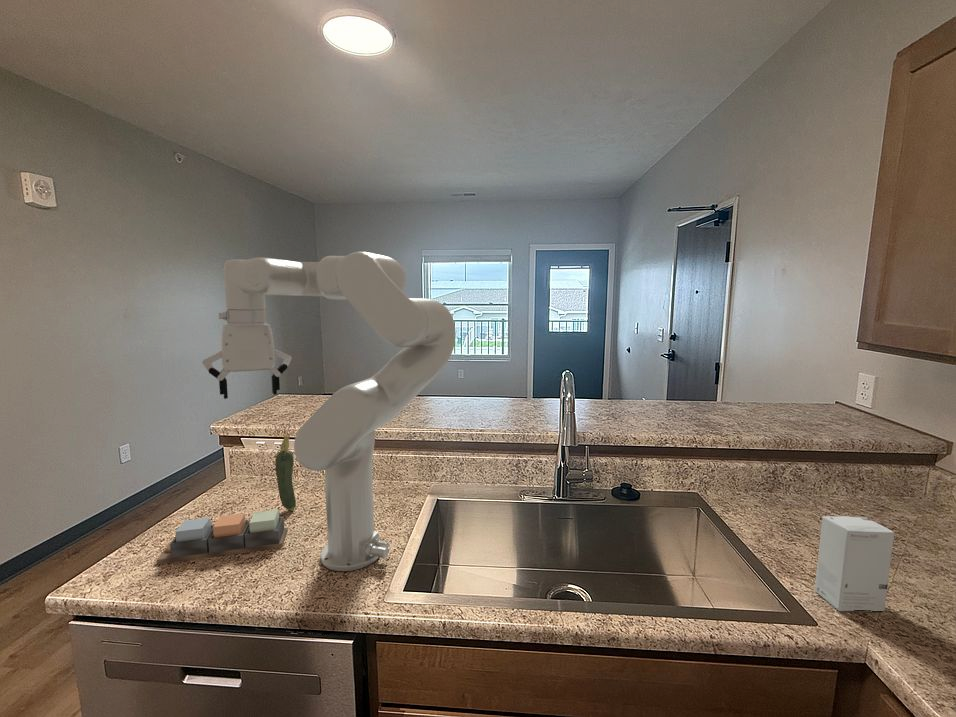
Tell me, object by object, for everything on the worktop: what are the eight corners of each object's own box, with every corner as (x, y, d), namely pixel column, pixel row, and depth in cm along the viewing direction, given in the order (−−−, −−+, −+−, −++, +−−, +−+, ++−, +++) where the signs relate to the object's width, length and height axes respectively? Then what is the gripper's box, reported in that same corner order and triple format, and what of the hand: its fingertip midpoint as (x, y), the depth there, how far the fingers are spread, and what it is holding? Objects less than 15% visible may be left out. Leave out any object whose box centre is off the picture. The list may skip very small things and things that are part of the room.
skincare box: (838, 612, 75) (847, 531, 73) (812, 590, 81) (819, 514, 79) (887, 613, 75) (897, 531, 73) (857, 590, 81) (866, 514, 79)
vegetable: (283, 516, 110) (279, 439, 107) (274, 511, 112) (270, 436, 110) (300, 509, 113) (295, 435, 111) (291, 505, 116) (286, 432, 113)
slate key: (211, 534, 97) (210, 517, 96) (203, 546, 92) (202, 528, 92) (186, 537, 96) (184, 520, 95) (177, 549, 91) (175, 531, 90)
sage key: (279, 525, 100) (278, 509, 100) (275, 536, 96) (274, 519, 95) (255, 528, 99) (254, 512, 99) (250, 540, 94) (249, 522, 94)
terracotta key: (246, 529, 99) (245, 513, 98) (240, 541, 94) (239, 524, 93) (221, 533, 97) (220, 516, 97) (214, 544, 93) (212, 527, 92)
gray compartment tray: (287, 531, 102) (286, 515, 101) (282, 547, 95) (281, 530, 95) (170, 546, 96) (169, 529, 95) (156, 564, 89) (154, 546, 89)
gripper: (198, 319, 86) (204, 403, 89) (292, 318, 95) (295, 395, 97) (200, 317, 93) (205, 395, 95) (287, 317, 102) (290, 389, 104)
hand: (250, 395), depth 96 cm, fingers open, 9 cm apart
